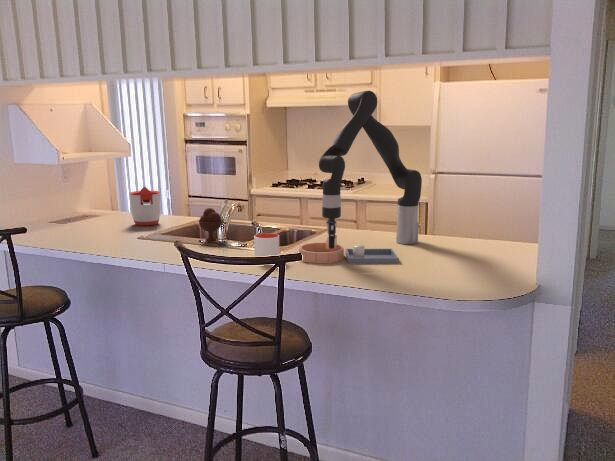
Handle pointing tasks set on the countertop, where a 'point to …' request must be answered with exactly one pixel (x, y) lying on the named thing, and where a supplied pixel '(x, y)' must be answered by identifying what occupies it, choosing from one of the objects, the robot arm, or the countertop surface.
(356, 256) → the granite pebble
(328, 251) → the terracotta bowl
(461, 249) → the countertop surface
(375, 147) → the robot arm
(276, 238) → the cup
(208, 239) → the ice cream bowl
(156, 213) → the citrus juicer
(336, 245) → the sandstone pebble
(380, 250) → the parts tray
